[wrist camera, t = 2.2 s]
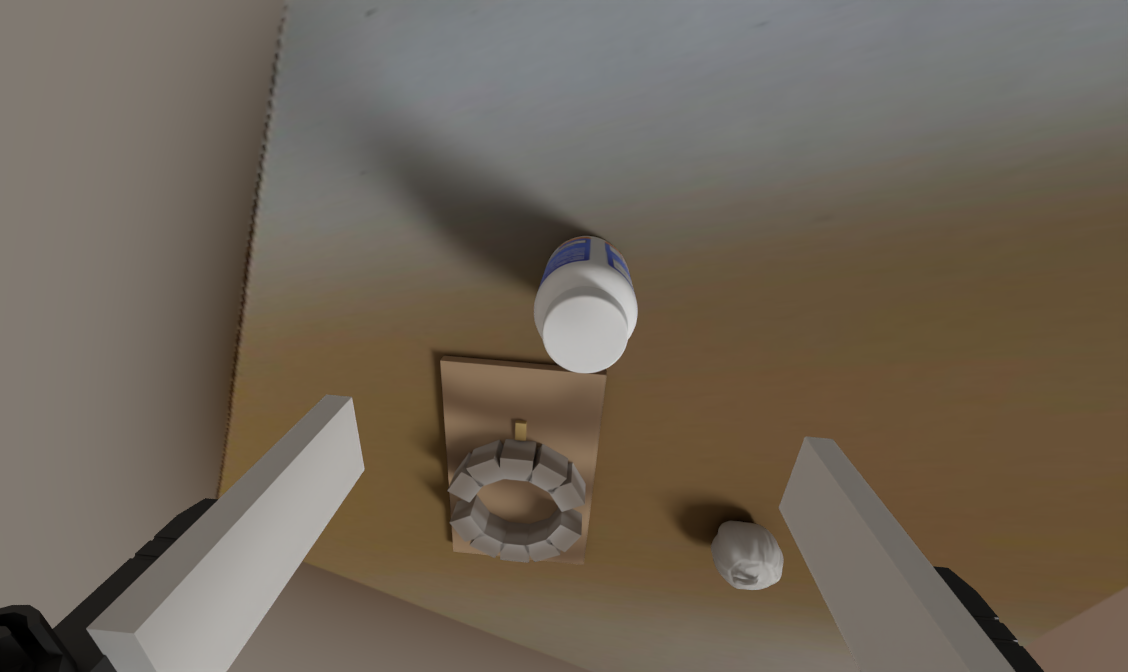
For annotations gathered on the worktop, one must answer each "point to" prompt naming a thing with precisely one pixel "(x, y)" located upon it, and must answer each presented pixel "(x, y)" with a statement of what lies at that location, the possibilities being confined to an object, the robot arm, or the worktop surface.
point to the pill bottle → (585, 305)
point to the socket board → (548, 423)
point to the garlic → (747, 555)
